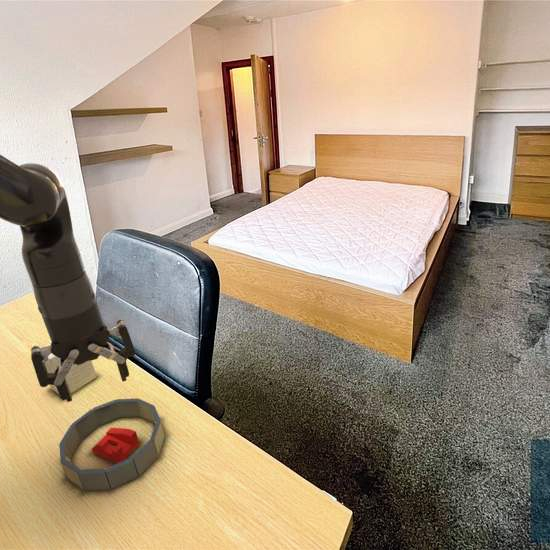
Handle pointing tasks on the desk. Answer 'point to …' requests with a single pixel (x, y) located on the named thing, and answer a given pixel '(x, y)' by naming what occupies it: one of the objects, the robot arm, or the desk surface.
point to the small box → (72, 373)
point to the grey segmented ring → (119, 471)
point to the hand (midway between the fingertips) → (97, 388)
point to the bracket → (119, 437)
